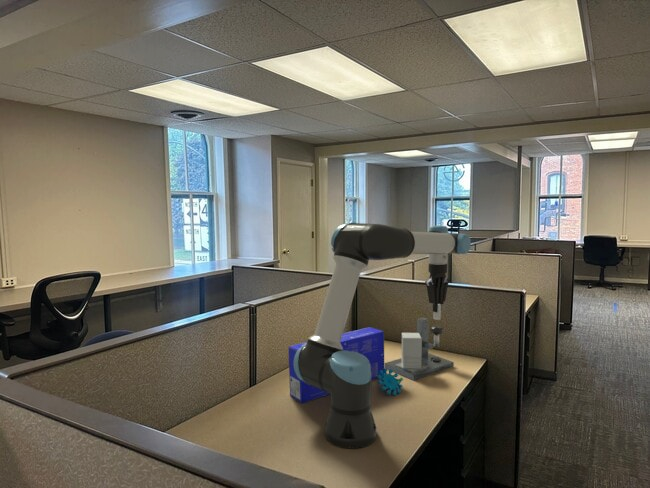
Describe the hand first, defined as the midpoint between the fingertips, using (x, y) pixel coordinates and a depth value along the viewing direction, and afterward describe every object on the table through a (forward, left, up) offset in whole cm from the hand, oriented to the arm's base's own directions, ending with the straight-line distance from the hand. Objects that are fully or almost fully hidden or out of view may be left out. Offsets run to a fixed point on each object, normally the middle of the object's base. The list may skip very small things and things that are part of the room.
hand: (436, 319), depth 178 cm
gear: (-34, -8, -20) cm, 40 cm away
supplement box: (-14, +1, -17) cm, 22 cm away
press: (-8, +2, -20) cm, 21 cm away
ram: (0, 0, -12) cm, 12 cm away
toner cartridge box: (-46, +7, -20) cm, 51 cm away
